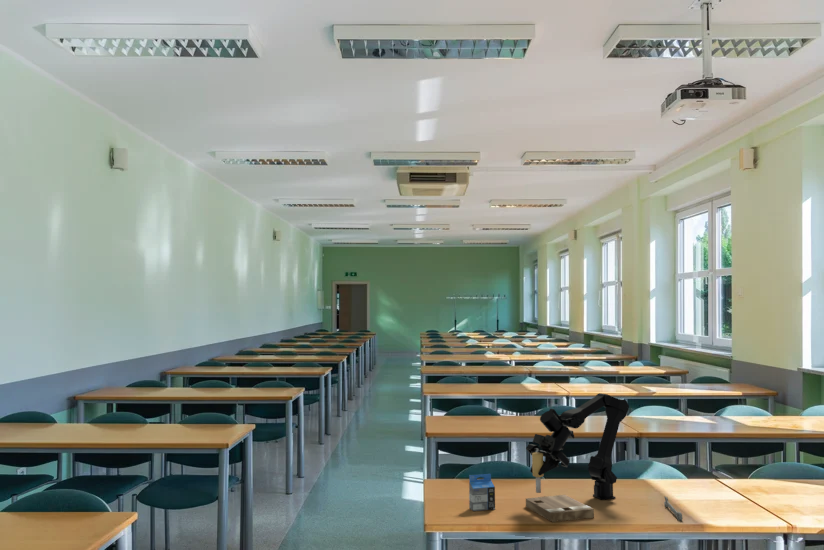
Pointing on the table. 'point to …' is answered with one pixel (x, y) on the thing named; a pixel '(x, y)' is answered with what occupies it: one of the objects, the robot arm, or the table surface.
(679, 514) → the combination wrench
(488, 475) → the ink cartridge box
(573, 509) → the subfloor panel
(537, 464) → the tan handled tool
